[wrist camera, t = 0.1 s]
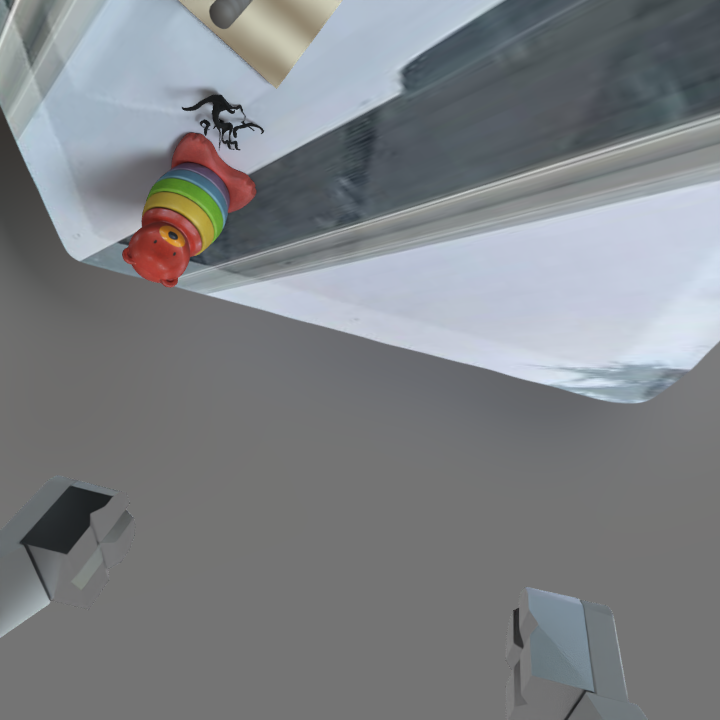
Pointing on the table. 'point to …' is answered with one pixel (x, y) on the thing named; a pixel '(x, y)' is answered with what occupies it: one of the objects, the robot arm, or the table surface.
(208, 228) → the stacking bear
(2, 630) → the robot arm
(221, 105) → the creature
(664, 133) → the table surface
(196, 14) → the board
